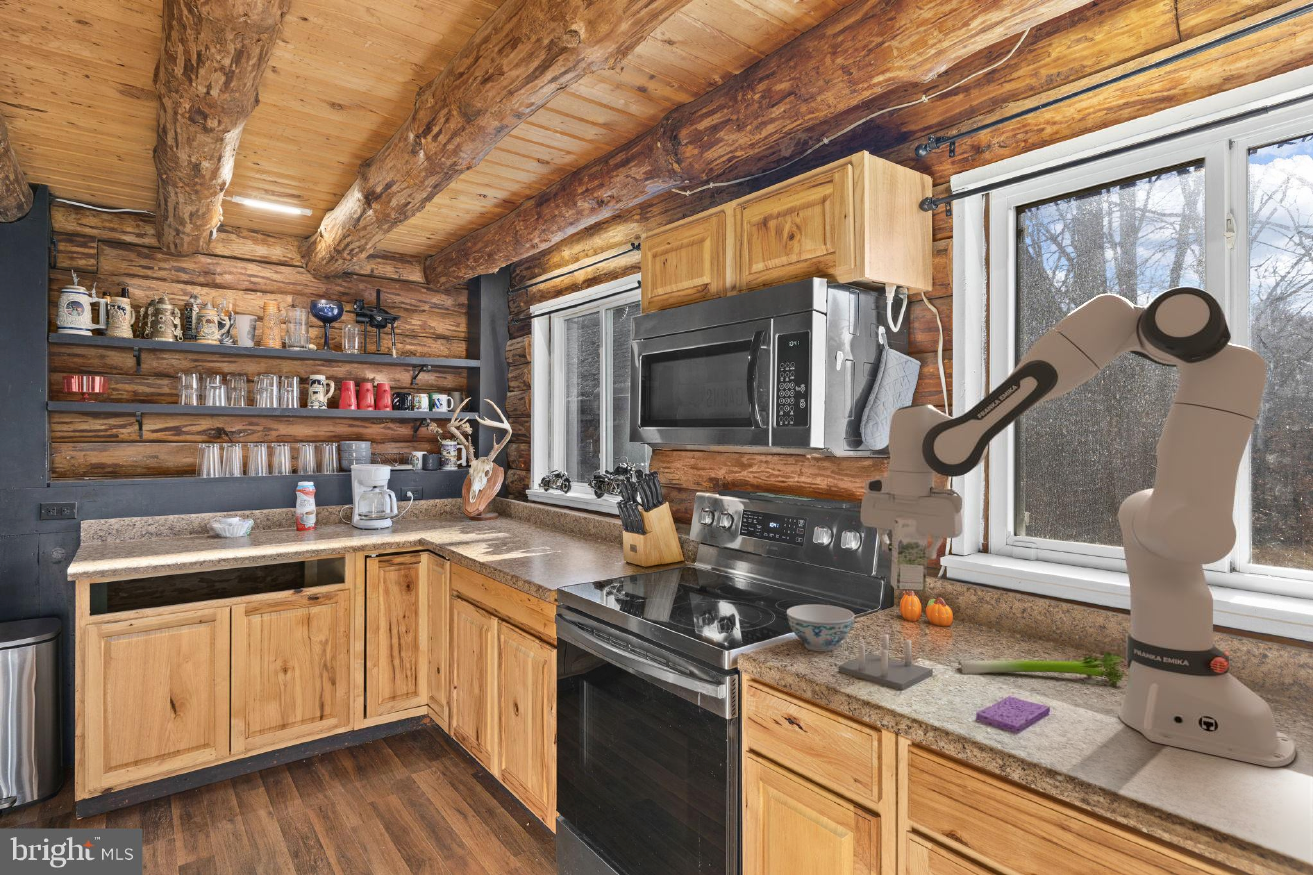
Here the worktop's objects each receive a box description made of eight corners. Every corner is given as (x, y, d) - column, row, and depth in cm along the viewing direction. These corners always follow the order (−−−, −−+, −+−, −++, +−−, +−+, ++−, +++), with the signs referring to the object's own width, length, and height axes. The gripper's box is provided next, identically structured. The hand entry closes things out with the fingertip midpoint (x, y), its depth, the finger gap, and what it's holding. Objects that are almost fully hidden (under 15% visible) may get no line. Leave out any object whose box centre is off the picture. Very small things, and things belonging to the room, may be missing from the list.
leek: (958, 675, 146) (1119, 674, 139) (964, 692, 139) (1134, 692, 132) (956, 647, 145) (1118, 645, 138) (962, 663, 139) (1133, 662, 131)
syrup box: (918, 585, 142) (920, 514, 142) (926, 592, 136) (928, 518, 136) (890, 584, 143) (891, 513, 143) (896, 591, 137) (897, 517, 137)
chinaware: (862, 657, 151) (862, 621, 151) (793, 657, 151) (793, 622, 151) (844, 636, 166) (844, 604, 166) (781, 636, 166) (781, 604, 166)
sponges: (975, 722, 119) (975, 712, 119) (1009, 704, 127) (1009, 693, 127) (1017, 737, 113) (1017, 725, 113) (1050, 716, 121) (1050, 705, 121)
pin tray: (932, 675, 140) (932, 644, 140) (902, 690, 132) (902, 658, 132) (869, 658, 151) (869, 629, 150) (838, 671, 143) (838, 641, 142)
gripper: (969, 489, 134) (967, 561, 134) (873, 480, 149) (871, 545, 149) (954, 491, 129) (952, 565, 130) (857, 482, 145) (855, 548, 145)
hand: (908, 554), depth 140 cm, fingers closed on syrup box, 8 cm apart
